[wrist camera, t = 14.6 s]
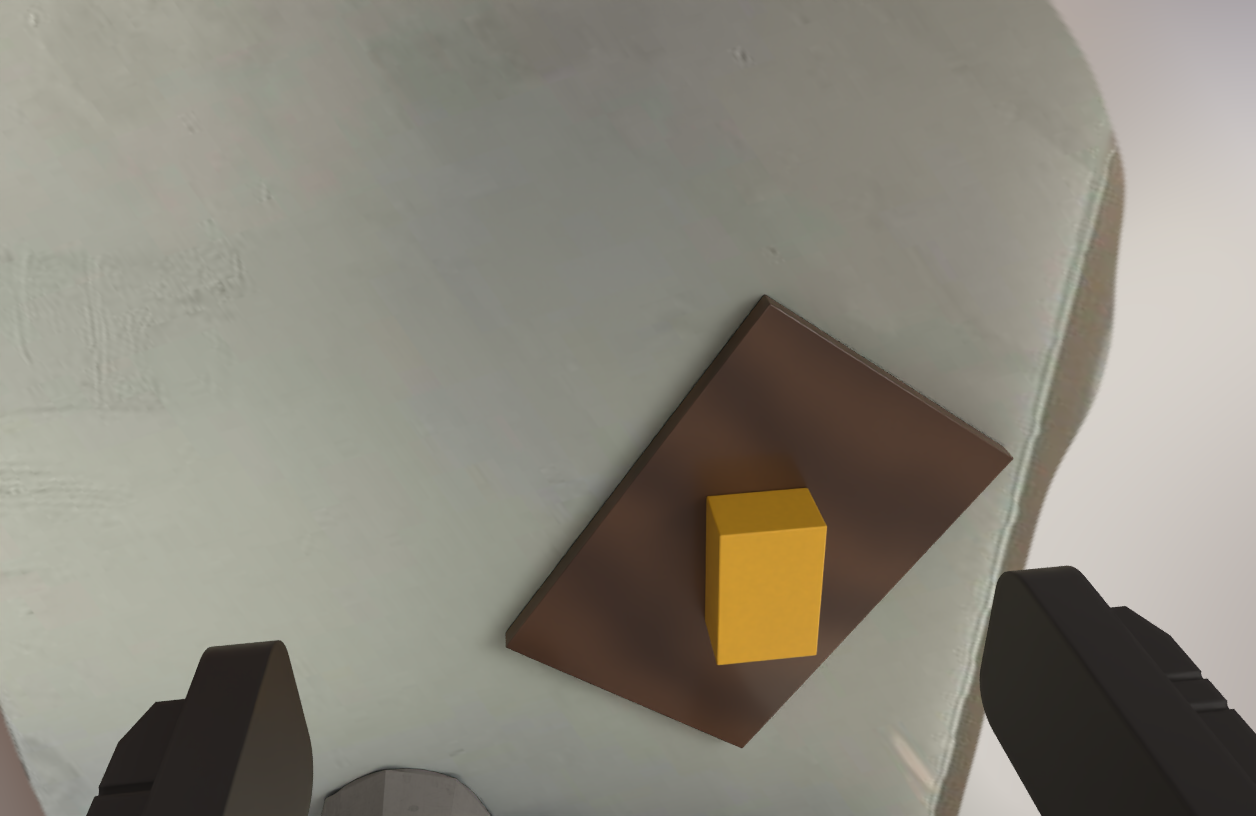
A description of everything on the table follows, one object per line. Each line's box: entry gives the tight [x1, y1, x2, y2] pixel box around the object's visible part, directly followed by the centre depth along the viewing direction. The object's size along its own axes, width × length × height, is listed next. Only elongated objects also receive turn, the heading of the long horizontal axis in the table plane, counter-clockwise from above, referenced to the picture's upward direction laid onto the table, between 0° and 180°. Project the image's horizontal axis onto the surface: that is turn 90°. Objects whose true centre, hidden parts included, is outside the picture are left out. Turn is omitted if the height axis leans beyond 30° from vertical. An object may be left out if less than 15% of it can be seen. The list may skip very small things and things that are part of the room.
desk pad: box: [506, 295, 1013, 748], centre depth 45 cm, size 20×14×1 cm
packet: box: [705, 488, 827, 665], centre depth 43 cm, size 7×4×3 cm, turn 2°
